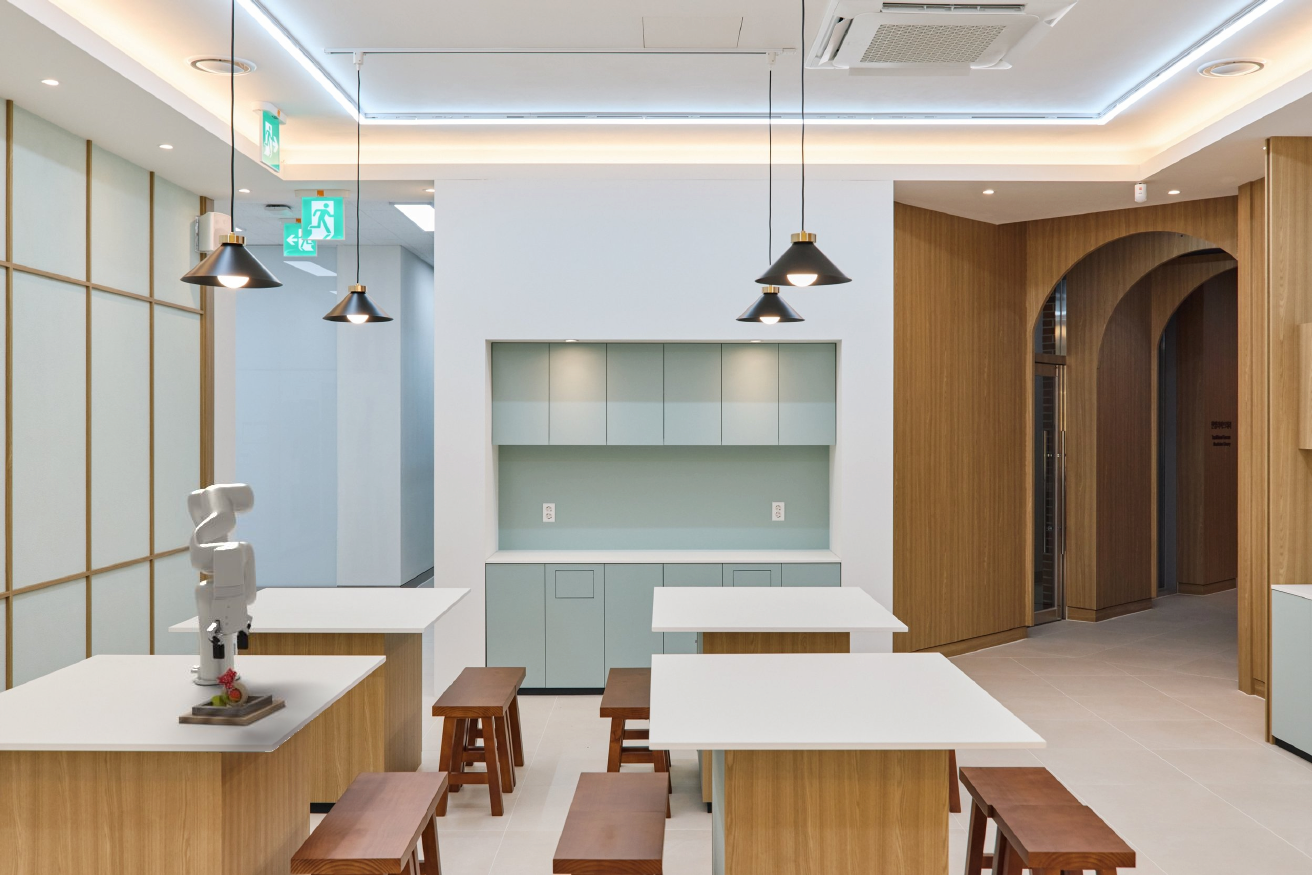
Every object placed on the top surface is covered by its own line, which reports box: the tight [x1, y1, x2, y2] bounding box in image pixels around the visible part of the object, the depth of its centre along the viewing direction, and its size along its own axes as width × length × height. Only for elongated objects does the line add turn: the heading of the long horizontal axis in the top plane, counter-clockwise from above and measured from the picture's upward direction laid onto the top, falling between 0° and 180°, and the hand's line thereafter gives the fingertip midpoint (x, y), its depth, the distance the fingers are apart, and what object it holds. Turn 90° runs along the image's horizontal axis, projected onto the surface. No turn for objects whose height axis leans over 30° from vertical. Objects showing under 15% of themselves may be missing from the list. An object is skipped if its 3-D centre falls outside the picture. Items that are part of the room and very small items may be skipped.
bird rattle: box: [210, 668, 249, 707], centre depth 245 cm, size 6×11×9 cm
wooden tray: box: [178, 693, 286, 726], centre depth 246 cm, size 20×17×4 cm
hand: (231, 653), depth 246 cm, fingers open, 9 cm apart
